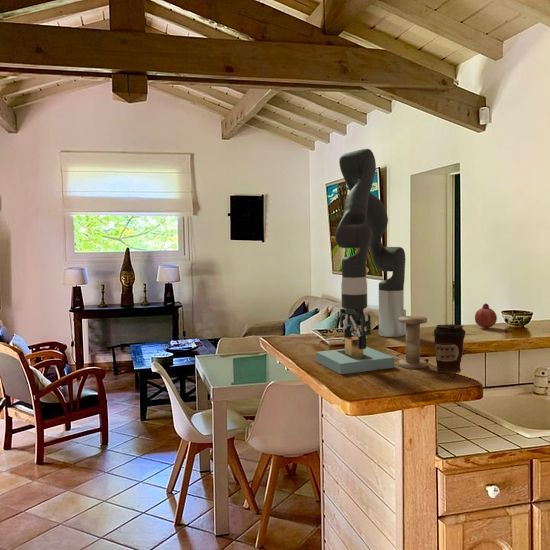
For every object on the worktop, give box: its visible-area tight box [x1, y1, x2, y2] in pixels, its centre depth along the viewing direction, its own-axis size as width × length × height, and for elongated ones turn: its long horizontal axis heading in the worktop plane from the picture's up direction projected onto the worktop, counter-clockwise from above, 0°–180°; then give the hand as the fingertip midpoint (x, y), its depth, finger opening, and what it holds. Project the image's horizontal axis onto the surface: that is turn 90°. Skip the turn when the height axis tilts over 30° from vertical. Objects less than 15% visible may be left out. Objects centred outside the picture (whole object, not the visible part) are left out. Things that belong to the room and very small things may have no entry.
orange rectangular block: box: [344, 335, 363, 360], centre depth 160 cm, size 4×4×8 cm
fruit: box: [474, 303, 498, 329], centre depth 212 cm, size 8×8×10 cm
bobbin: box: [398, 315, 428, 370], centre depth 158 cm, size 8×8×14 cm
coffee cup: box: [433, 323, 466, 374], centre depth 150 cm, size 9×8×13 cm
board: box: [315, 346, 396, 375], centre depth 160 cm, size 18×16×3 cm
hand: (355, 345), depth 160 cm, fingers open, 8 cm apart
